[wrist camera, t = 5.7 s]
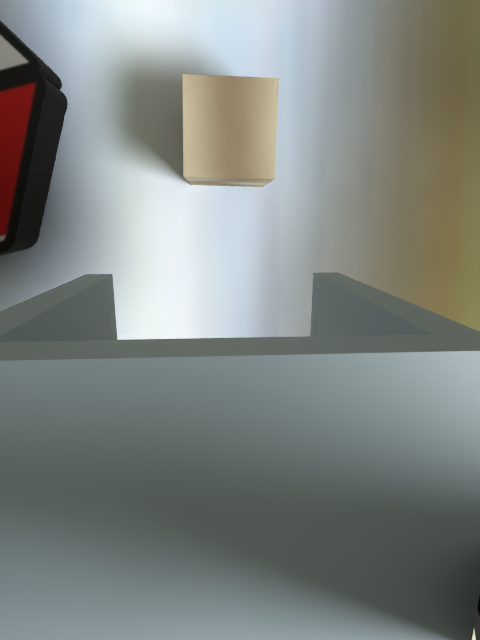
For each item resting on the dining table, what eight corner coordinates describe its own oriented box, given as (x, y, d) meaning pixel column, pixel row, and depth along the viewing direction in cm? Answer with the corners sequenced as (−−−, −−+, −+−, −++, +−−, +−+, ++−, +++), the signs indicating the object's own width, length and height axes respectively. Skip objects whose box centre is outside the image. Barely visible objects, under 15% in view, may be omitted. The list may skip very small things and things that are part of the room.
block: (190, 184, 28) (183, 176, 22) (190, 105, 27) (182, 74, 21) (262, 186, 28) (274, 179, 22) (265, 108, 27) (278, 78, 21)
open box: (106, 496, 16) (-17, 818, 8) (85, 274, 14) (-119, 363, 5) (324, 486, 17) (447, 774, 8) (337, 272, 15) (523, 350, 6)
